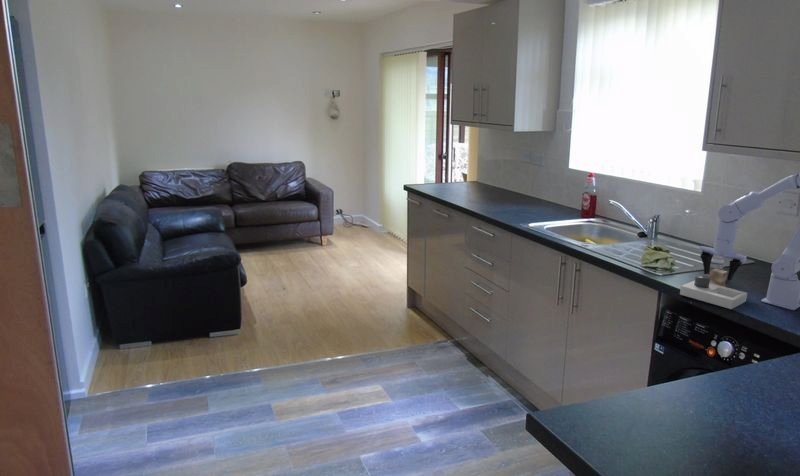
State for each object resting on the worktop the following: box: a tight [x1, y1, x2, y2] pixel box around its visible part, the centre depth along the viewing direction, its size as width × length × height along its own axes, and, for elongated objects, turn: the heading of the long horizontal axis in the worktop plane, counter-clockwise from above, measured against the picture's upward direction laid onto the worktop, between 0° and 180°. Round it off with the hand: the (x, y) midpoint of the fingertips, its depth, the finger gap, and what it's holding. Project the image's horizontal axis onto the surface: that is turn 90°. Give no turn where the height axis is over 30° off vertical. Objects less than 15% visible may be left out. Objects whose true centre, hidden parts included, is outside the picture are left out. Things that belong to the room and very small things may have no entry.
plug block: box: [709, 269, 728, 287], centre depth 198 cm, size 4×4×6 cm
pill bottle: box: [705, 255, 725, 277], centre depth 210 cm, size 5×5×9 cm
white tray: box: [679, 274, 748, 310], centre depth 186 cm, size 16×12×6 cm
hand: (717, 276), depth 197 cm, fingers open, 7 cm apart
